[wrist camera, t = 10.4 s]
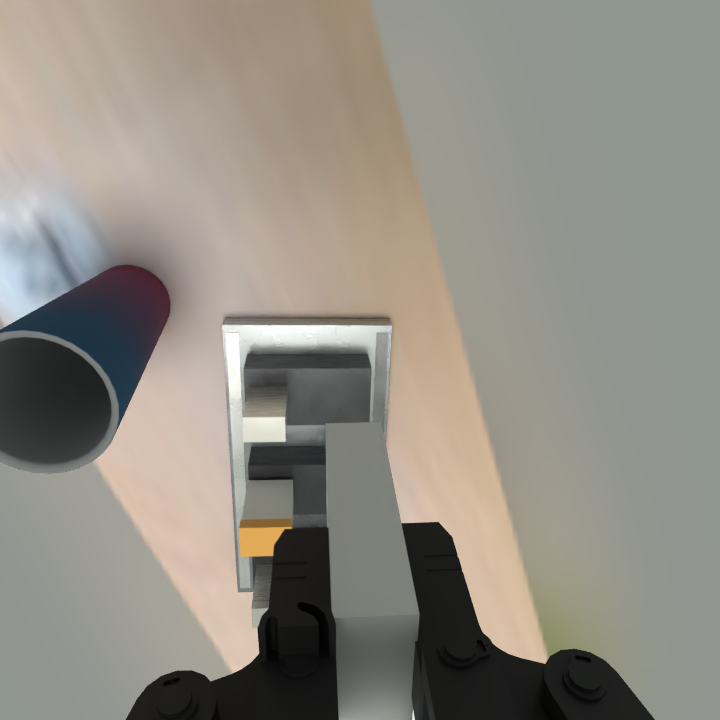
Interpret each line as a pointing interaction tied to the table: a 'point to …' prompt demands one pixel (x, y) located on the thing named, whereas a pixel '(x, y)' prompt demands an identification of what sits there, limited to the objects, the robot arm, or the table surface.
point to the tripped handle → (265, 516)
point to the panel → (296, 411)
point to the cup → (77, 369)
